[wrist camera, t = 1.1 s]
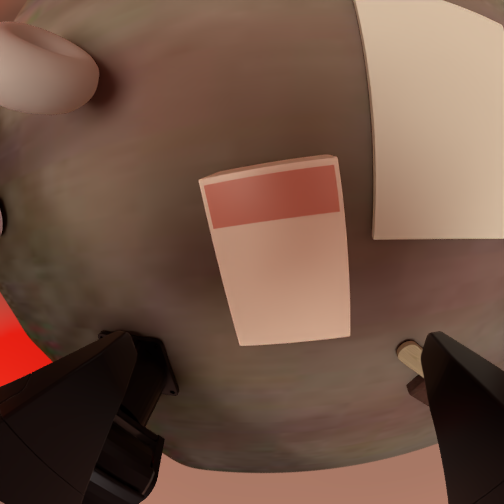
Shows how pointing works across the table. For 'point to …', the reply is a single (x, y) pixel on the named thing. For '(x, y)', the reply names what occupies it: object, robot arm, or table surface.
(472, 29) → the mat
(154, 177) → the table surface
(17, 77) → the donut
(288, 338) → the card deck
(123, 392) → the robot arm
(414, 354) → the ice cream bar
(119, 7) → the table surface
